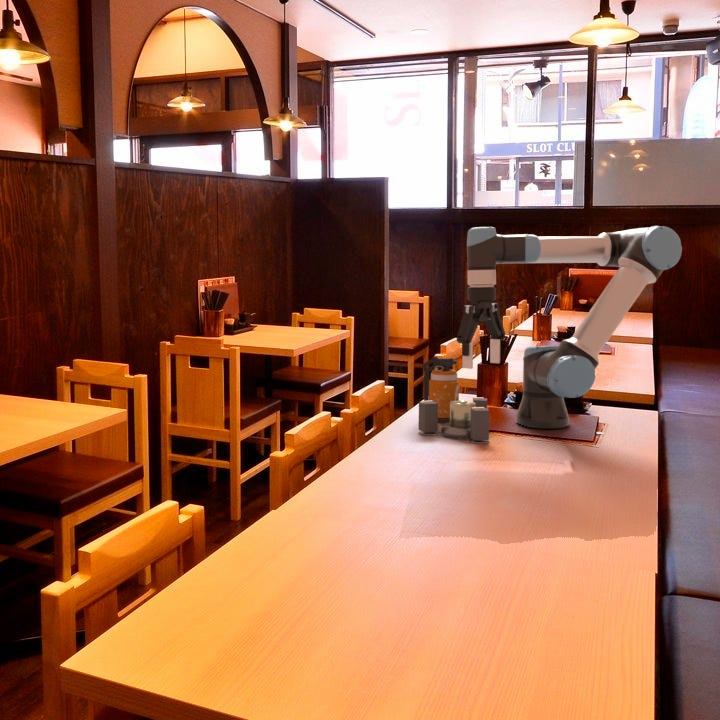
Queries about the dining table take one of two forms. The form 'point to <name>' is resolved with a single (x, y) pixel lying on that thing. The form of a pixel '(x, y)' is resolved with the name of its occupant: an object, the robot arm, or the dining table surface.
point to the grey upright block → (428, 416)
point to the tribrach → (458, 422)
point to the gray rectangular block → (479, 423)
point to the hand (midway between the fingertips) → (481, 365)
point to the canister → (441, 385)
